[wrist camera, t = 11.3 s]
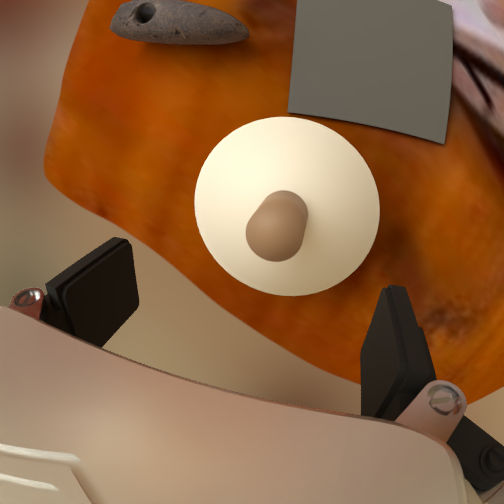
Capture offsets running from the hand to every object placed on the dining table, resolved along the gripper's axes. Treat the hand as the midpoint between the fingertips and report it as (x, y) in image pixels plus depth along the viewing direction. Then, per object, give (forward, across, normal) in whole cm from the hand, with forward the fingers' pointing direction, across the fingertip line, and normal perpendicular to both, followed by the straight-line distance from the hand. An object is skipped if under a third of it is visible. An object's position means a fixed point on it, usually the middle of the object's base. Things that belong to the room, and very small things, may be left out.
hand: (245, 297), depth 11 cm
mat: (+24, -6, -15) cm, 29 cm away
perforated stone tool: (+24, +14, -16) cm, 32 cm away
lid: (+17, +1, +2) cm, 17 cm away
